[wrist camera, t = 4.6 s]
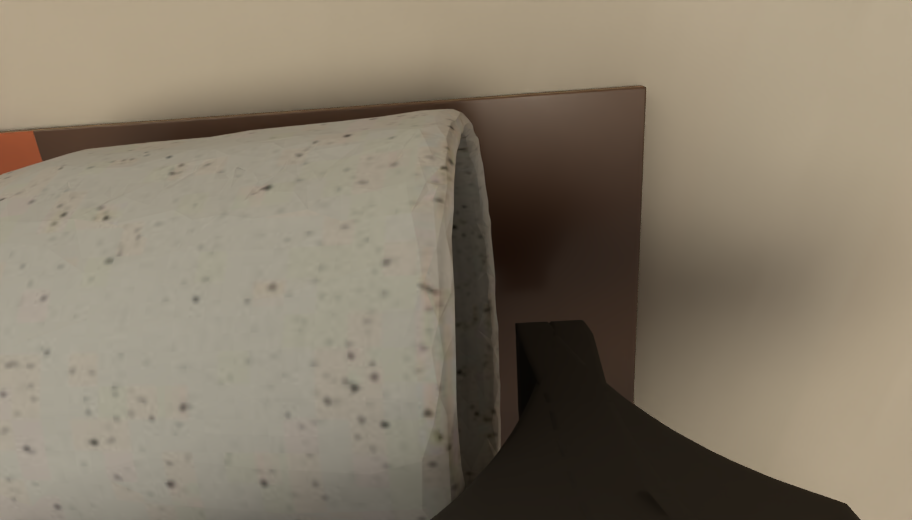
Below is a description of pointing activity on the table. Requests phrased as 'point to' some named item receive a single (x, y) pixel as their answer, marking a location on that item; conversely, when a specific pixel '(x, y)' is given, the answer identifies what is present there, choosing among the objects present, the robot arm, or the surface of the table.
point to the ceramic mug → (250, 326)
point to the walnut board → (494, 203)
